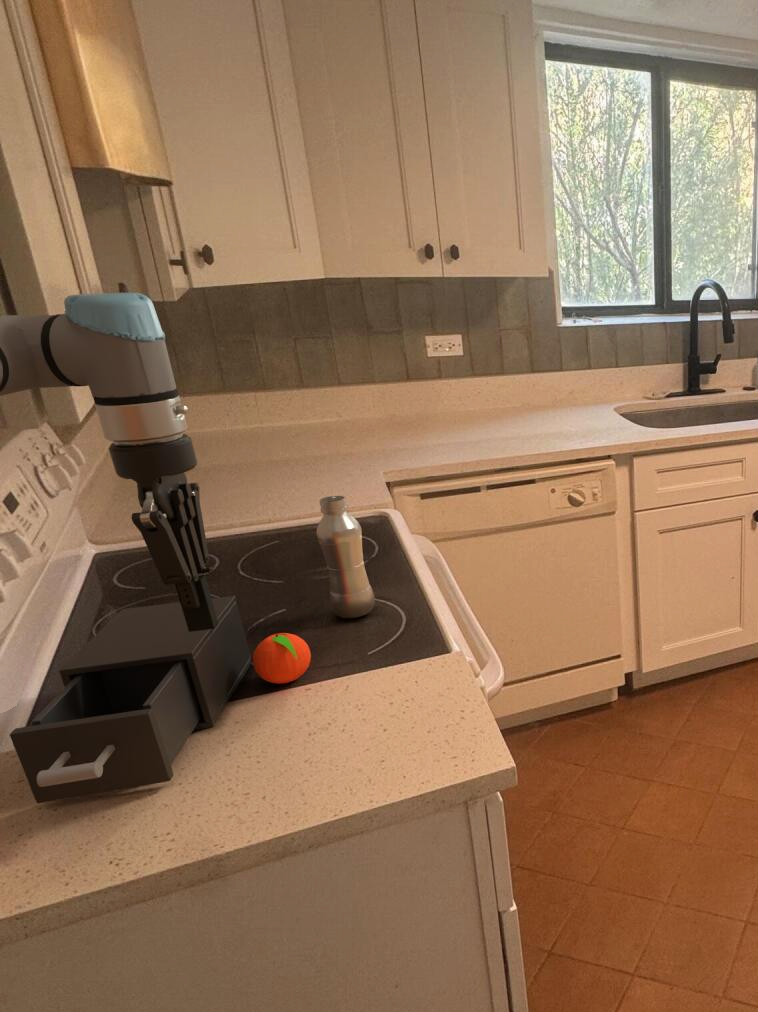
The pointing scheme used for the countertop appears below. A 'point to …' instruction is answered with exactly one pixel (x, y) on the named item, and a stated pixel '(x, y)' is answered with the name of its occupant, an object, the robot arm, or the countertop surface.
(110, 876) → the countertop surface
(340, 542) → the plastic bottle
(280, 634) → the clementine
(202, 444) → the countertop surface
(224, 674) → the dark drawer cabinet
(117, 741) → the open grey drawer
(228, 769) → the countertop surface
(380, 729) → the countertop surface
